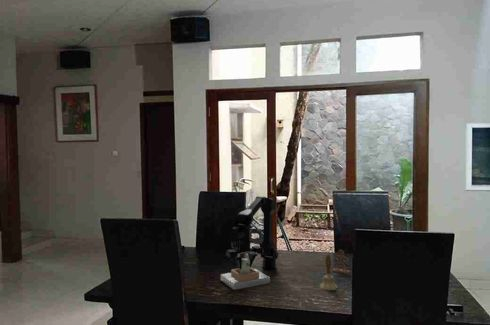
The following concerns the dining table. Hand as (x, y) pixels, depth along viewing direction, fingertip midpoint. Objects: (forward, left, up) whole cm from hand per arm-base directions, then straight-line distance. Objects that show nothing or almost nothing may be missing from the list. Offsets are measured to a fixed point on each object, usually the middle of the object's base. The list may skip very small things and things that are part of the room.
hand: (244, 268), depth 206 cm
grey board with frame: (0, 0, -7) cm, 7 cm away
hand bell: (-32, +27, -7) cm, 42 cm away
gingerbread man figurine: (-53, +11, -7) cm, 54 cm away
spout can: (0, 0, -2) cm, 3 cm away
